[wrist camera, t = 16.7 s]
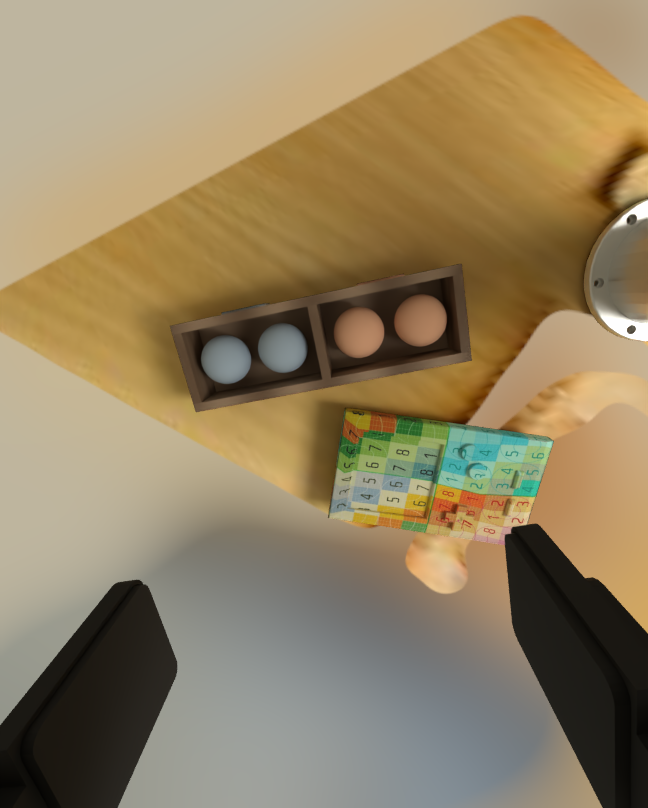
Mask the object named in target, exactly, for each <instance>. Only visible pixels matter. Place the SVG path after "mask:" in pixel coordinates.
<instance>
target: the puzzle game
mask: <svg viewBox="0 0 648 808" xmlns="http://www.w3.org/2000/svg"><path fill="white" fill-rule="evenodd" d="M553 442H554V441H553V440H551V439H550V438H549V437H546V436H539V435H532V434H525V433H518V432H511V431H504V430H497V429H490V428H483V427H477V426H470V425H463V424H456V423H449V422H442V421H435V420H428V419H421V418H414V417H407V416H400V415H393V414H386V413H380V412H373V411H366V410H359V409H352V408H345V412H344V418H343V424H342V431H341V437H340V443H339V450H338V456H337V463H336V469H335V475H334V482H333V488H332V494H331V501H330V507H329V515H328V518H332V519H339V520H346V521H352V522H359V523H366V524H373V525H379V526H386V527H392V528H399V529H405V530H411V531H418V532H424V533H430V534H437V535H443V536H450V537H456V538H462V539H469V540H475V541H482V542H488V543H494V544H501V545H505V534H511V529H512V527H515V526H522V525H527V523H528V520H529V517H530V514H531V511H532V508H533V504H534V501H535V498H536V495H537V492H538V489H539V486H540V483H541V480H542V477H543V473H544V470H545V467H546V464H547V461H548V458H549V455H550V452H551V449H552V445H553Z"/></svg>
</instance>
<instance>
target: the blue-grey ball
mask: <svg viewBox="0 0 648 808" xmlns="http://www.w3.org/2000/svg"><path fill="white" fill-rule="evenodd" d="M201 363H202V367H203V369H204V371H205V373H206V374H207V375H208V376H209V377H210V378H211V379H212V380H214V381H216V382H219V383H222V384H231V383H235V382H238V381H239V380H241V379H242V378H244V377H245V376H246V374H247V373H248V371H249V369H250V366H251V354H250V351H249V349H248V347H247V346H246V345H245V343H244V342H243V341H241V340H240V339H238V338H236V337H234V336H230V335H221V336H217V337H215V338H213V339H211V340H210V341H209V342H208V343H207V344H206V345H205V347H204V349H203V351H202V355H201Z"/></svg>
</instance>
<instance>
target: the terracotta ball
mask: <svg viewBox="0 0 648 808" xmlns="http://www.w3.org/2000/svg"><path fill="white" fill-rule="evenodd" d="M383 338H384V326H383V323H382V320H381V319H380V317H379V316H378V315H377V314H376V313H375V312H374V311H372V310H371V309H368V308H365V307H353V308H350V309H348V310H346V311H345V312H343V313H342V314H341V315H340V316H339V318H338V319H337V321H336V323H335V327H334V339H335V342H336V344H337V346H338V348H339V349H340V350H341V351H342V352H343V353H344V354H346V355H348V356H350V357H354V358H363V357H367V356H369V355H371V354H373V353H374V352H375V351H376V350H377V349H378V348H379V347H380V345H381V344H382V341H383Z"/></svg>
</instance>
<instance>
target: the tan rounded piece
mask: <svg viewBox="0 0 648 808" xmlns="http://www.w3.org/2000/svg"><path fill="white" fill-rule="evenodd" d="M446 324H447V314H446V310H445V308H444V306H443V305H442V303H441V302H440V301H439V300H438V299H436V298H435V297H433V296H430V295H425V294H419V295H414V296H411V297H409V298H407V299H406V300H405V301H403V302H402V303H401V305H400V306H399V307H398V309H397V311H396V314H395V318H394V325H395V330H396V332H397V334H398V336H399V337H400V338H401V339H402V340H403V341H404V342H405V343H407V344H409V345H412V346H417V347H422V346H427V345H430V344H432V343H434V342H435V341H436V340H438V339H439V338H440V337H441V335H442V334H443V332H444V330H445V328H446Z"/></svg>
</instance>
